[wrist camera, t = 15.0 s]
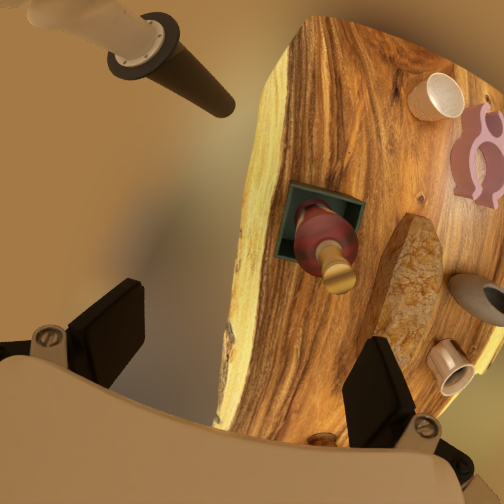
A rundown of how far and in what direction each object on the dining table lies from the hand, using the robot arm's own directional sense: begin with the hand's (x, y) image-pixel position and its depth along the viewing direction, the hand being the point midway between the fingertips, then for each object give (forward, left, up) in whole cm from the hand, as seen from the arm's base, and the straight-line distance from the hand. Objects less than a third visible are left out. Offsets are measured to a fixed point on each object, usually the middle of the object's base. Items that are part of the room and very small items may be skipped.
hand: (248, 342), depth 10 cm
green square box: (+4, +4, -40) cm, 40 cm away
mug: (+49, +21, -40) cm, 67 cm away
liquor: (+4, +4, -39) cm, 40 cm away
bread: (+28, +12, -40) cm, 50 cm away
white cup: (-6, +34, -40) cm, 53 cm away
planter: (+32, +30, -40) cm, 60 cm away
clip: (+7, +42, -40) cm, 58 cm away
